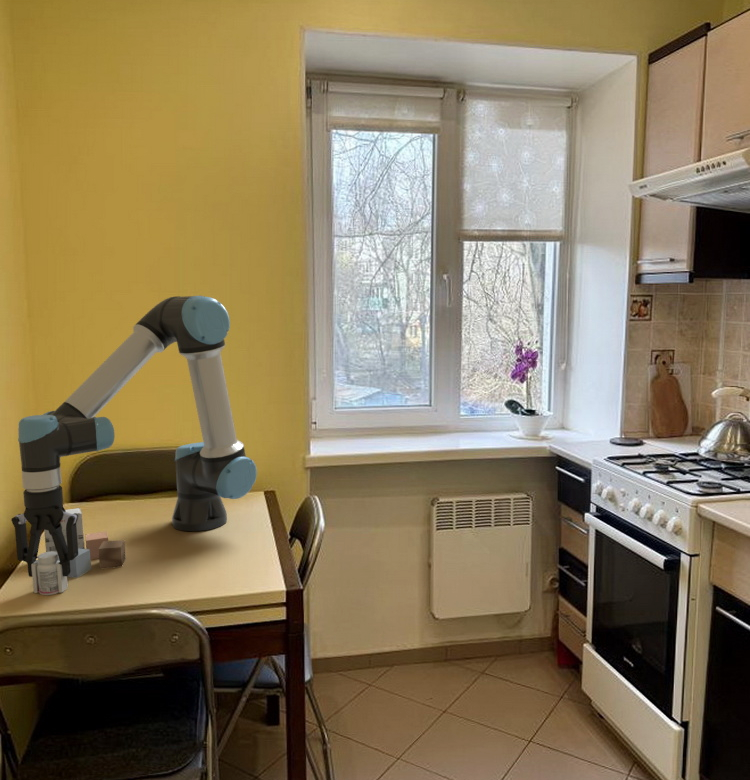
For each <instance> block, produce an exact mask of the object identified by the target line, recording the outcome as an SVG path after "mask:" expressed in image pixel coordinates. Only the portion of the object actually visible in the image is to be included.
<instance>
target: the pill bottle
mask: <svg viewBox="0 0 750 780" xmlns="http://www.w3.org/2000/svg"><path fill="white" fill-rule="evenodd" d="M37 557H38V558H37V560H38V562H39V564H38V565H37V574H38V585H39V592H38V593H39V594H40V595H42V596H51V595H52V596H53V595H56V594H58V593H60V592H59V588H58V575H57V563H59V562H60V561H59V557H58V553H57V552H54V551H50V552H46V551H45V552H42V553H40V554H39V555H37Z"/></svg>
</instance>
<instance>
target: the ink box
mask: <svg viewBox="0 0 750 780" xmlns="http://www.w3.org/2000/svg"><path fill="white" fill-rule="evenodd" d="M65 511H66V512H67V513H70V514H74V513H77V514H78V519H77V523H76V527H77V541H78V548H79V549H86V546H85V537H84V525H83V523H84V522H83V512H82V510H81V508H80V507H76V508H70V509H65ZM60 523H61V526H62V532H63V535H64V538H65V541H66V544H67V536H66V523H65V519H64V518H63V519H62V520H61V522H60ZM43 530H44V529H43ZM43 534H44V544H45V552H50V551H54V552H57V551H56V548H55V545H54V542H53V539H52V536H51V535H50V534H49V531H48V530H44V533H43Z"/></svg>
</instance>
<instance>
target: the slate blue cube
mask: <svg viewBox="0 0 750 780" xmlns="http://www.w3.org/2000/svg"><path fill="white" fill-rule="evenodd" d="M58 557H59V556H58ZM91 560H92V559H90V550H89V549H86V548H85V549H79V548H78V556H76V557H75V558H74V559H73V560H70V571H71V572H70V574H69V575H68V576H67V578H75V579H78V578H80V577H81V576H82V575H85V574H86V573H87V572H90V571H91V570H92V561H91ZM59 561H60V559H59Z"/></svg>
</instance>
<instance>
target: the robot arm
mask: <svg viewBox="0 0 750 780" xmlns="http://www.w3.org/2000/svg"><path fill="white" fill-rule="evenodd" d="M230 325H231V321H230V317H229V312H228V311H227V309H226V307H225V306H224V305H223V304H222V302H220V301H218V300H217V299H216V298H213V297H210V296H205V295H204V296H203V295H192V296H191V295H189V296H179V295H178V296H170V297H167V298H165V299H164V300H162V301H160V302H159V303H157V304H156V305H154V306H153V307H152V308H151V309H150V310H149V311H148V312H147V313H146V314H145V315H144V316H142V318H140V319H139V320H138V321H137V322H136V323H135V325H133V328H132V330H133V331H132V333H131V334H130V335H129V336H128V337H127V338H126V339H125V340H124V341H123V342H122V344H120V346H119V347H117V348H116V349H115V350H114V351H113V352H112V354H110V355H109V356H108V358H106V359H105V361H103V362H102V364H101V365H99V366H98V367H97V368H96V369H95V370H94V371H93V373H91V375H89V377H88V378H87V379H86V380H84V382H82V384H80V385H79V387H77V388H76V389H75V390H74V392H73V393H71V395H69V396H68V397H67V399H65V401H64V402H63V403H62V404H60V405H59V406H58V407H57V408H56V409H55V410H51V411H47V412H45V413H43V414H39V415H38V414H36V415H29V416H25V417H23V418H21V419H20V420H19V422H18V428H17V429H18V431H17V432H18V433H17V435H18V437H17V439H18V443H19V444H18V445H19V447H18V448H19V454H20V462H21V463H20V465H21V480H22V488H23V489H24V491H23V493H22V494H23V502H24V503H23V505H24V507H25V508H24V511H23V513H18V514H16V515H15V516H13V517H12V518H11V522H12V525H13V527H14V533H15V534H14V535H15V545H16V547H15V548H16V557H17V561H19V562H22V561H23V562H25V563H26V565H27V575H28V577H29V578H32V579H31V580H32V589H33V593H34V594H37V593H39V585H38V574H37V565H38V564H39V562H38V556H39V555H38V553H39V549H40V548H39V547H40V542H41V537H42V532H43V530H48V531H49V534H50V535H51V536H52V539H53V542H54V545H55V548H56V551H57V553H58V556H59V559H60V562H59V563H57V575H58V588H59V592H58V593H63V592H64V591H66V590H67V589H68V587H69V585H68V577H67V576H68V575H69V574H70V572H71V571H70V560H73V559H74V558H75V557H76V556H78V541H77V527H76V523H77V519H78V514H77V513H74V514H70V513H67V512H66V511H65V510H66V509H65V508H64V507H65V506H64V494H63V486H61V484H62V482H63V481H62V469H61V458H62V457H63V458H64V457H68V456H74V455H81V454H85V453H91V452H99V451H102V450H106V449H109V448H110V447H112V445H113V444H114V442H115V429H114V428H115V427H114V424H113V423H112V422H111V420H110V419H109V418H108V417H106V416H97V414H98V413H99V412H101V410H102V409H103V408H104V407H105V406H106V405H108V403H109V402H110V401H112V399H113V398H114V397H115V396H116V395H118V394H117V393H119V392H120V391H121V390H122V388H124V387H125V385H127V384H128V383H129V381H130V380H131V379H132V378H133V377H134V376H135V375H136V374H137V373H138V372H139V371H140V370H141V369H142V368H143V367H144V366H145V365H146V364H147V362H149V360H151V358H153V356H154V355H155V354H157V353H163V352H164V351H165V350H166V349H167V348H168V347H169V346H170V345H172V344H174V343H177V348H178V353H179V355H180V356H183V357H184V358H185V359H186V362H187V367H188V371H189V372H188V373H189V377H190V383H191V387H192V391H193V392H192V393H193V396H194V401H195V406H196V412H197V416H198V422H199V427H200V431H201V437H202V441H201V442H194V443H188V444H187V443H186V444H184V445H180V446H178V447H177V448H176V449H175V457H174V462H175V473H176V474H175V475H176V489H177V490H176V493H177V494H176V496H177V499H176V503H175V506H174V509H173V514H172V516H171V520H172V521H171V525H172V527H173V528H174V529H176V530H179V531H184V532H203V531H208V530H212V529H217V528H220V527H221V526H223V525H225V524H226V523H227V522H228V512H227V509H226V507H225V504H224V502H223V500H222V498H223V499H229V500H237V499H238V500H239V499H241V498H243V497H245V496H246V495H247V494H248V493H249V492H250V491H251V490H252V488H253V485H254V484H255V483H256V480H257V476H258V475H257V474H258V470H257V465H256V464H255V462H254V460H253V459H251V458H250V457H248V456H246V455H247V454H246V450H245V445H244V442H242V441H240V440H239V439H238V438H237V433H236V429H235V424H234V417H233V412H232V408H231V407H232V406H231V402H230V397H229V396H230V395H229V392H228V385H227V380H226V376H225V370H224V364H223V359H222V353H221V352H222V351H223V349H224V348H225V347H226V342H225V338H226V337H227V336H228V332H229V331H230V328H231V327H230ZM63 518H64V519H65V523H66V536H67V544H66V541H65V538H64V535H63V532H62V526H61V523H60V522H61V520H62V519H63ZM27 522H28V523H29V524H30V530H29V541H28V532H27V531H28V530H27ZM28 542H29V543H28Z"/></svg>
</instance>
